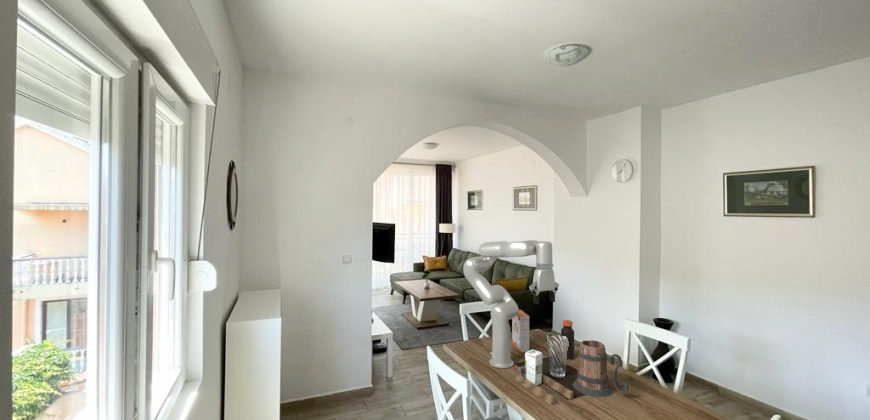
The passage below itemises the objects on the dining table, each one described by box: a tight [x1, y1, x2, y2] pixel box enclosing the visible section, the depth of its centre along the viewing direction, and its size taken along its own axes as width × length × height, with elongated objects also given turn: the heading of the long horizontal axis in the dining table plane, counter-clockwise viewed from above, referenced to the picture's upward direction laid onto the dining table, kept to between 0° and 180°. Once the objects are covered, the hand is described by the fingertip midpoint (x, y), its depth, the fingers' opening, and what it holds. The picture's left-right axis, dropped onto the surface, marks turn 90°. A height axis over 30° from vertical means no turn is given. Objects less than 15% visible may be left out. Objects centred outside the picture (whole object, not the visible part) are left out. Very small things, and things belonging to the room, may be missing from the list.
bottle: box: [560, 319, 575, 360], centre depth 199 cm, size 7×7×20 cm
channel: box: [515, 365, 574, 406], centre depth 163 cm, size 24×12×6 cm, turn 24°
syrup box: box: [524, 349, 543, 386], centre depth 169 cm, size 6×6×14 cm
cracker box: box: [511, 309, 530, 353], centre depth 213 cm, size 14×6×21 cm, turn 6°
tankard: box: [572, 339, 630, 398], centre depth 162 cm, size 24×17×20 cm
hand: (544, 302), depth 175 cm, fingers open, 9 cm apart
